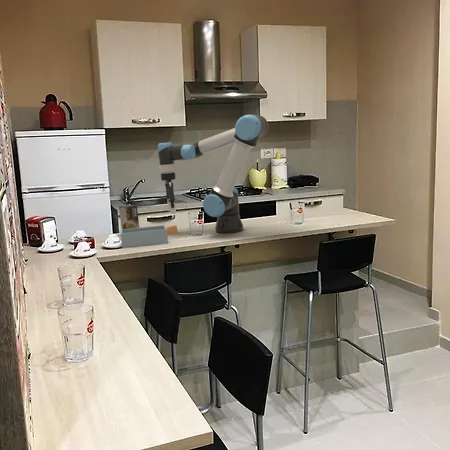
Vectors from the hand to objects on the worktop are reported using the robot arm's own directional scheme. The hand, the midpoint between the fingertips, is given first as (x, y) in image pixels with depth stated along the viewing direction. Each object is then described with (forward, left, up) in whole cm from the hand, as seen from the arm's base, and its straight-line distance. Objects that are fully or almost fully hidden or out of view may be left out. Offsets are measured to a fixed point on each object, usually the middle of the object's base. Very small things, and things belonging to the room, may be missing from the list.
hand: (172, 212), depth 275 cm
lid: (+13, 0, -13) cm, 18 cm away
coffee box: (+22, -14, -12) cm, 29 cm away
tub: (+16, +19, -12) cm, 28 cm away
